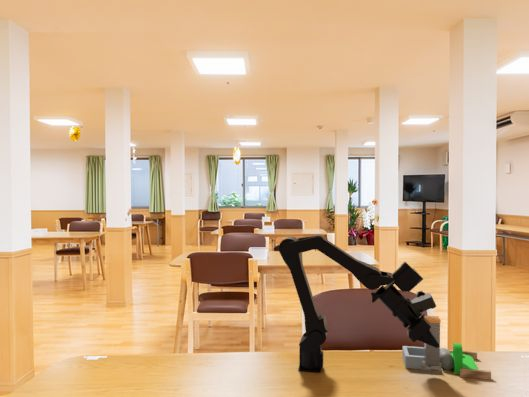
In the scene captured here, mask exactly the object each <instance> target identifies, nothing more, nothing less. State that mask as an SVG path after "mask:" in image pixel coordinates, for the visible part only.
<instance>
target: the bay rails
mask: <svg viewBox="0 0 529 397" xmlns="http://www.w3.org/2000/svg"><path fill="white" fill-rule="evenodd" d="M448 350H449V352H450V354H451V353H453V349H448ZM462 352H463V354H465V355H469V356H471V357H472V358H473V359H474V360H478V352H477V351H472V350H471V351H470V350H469V351H467V350H462ZM459 377H460V378H467V379H469V378H471V379H481V380H484V379H485V380H492V372H491V370H484V369H478V370H473V369H460V374H459Z"/></svg>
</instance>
